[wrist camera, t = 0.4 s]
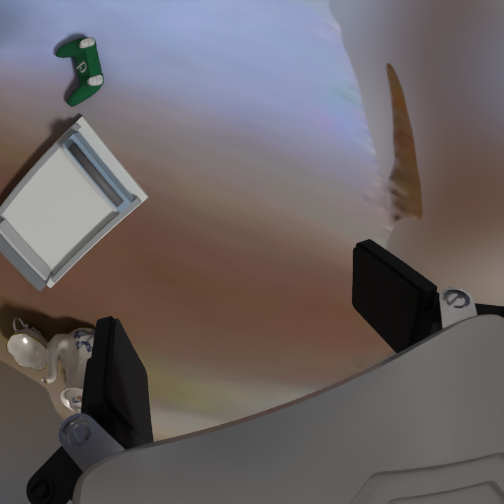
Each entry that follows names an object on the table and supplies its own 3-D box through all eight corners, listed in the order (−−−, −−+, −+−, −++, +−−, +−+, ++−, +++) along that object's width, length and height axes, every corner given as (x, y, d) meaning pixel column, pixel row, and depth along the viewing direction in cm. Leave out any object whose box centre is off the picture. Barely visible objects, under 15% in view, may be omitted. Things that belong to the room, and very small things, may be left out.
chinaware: (7, 328, 44) (-21, 394, 30) (39, 278, 41) (2, 352, 27) (116, 397, 58) (113, 463, 44) (163, 364, 55) (166, 439, 41)
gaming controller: (88, 102, 35) (111, 89, 32) (66, 109, 32) (88, 95, 29) (75, 47, 31) (98, 28, 28) (53, 51, 28) (74, 31, 25)
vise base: (-9, 220, 35) (-21, 230, 31) (83, 116, 34) (75, 116, 30) (52, 285, 42) (45, 300, 38) (148, 195, 42) (147, 204, 38)
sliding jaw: (66, 144, 34) (56, 148, 30) (79, 131, 34) (71, 134, 30) (119, 208, 40) (116, 218, 36) (133, 196, 40) (130, 206, 36)
